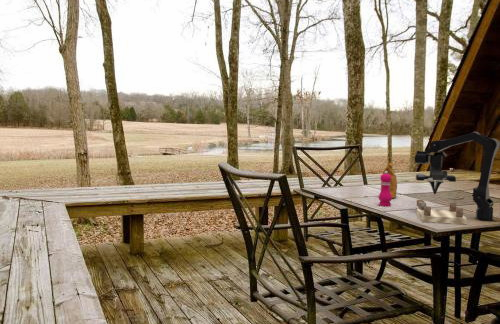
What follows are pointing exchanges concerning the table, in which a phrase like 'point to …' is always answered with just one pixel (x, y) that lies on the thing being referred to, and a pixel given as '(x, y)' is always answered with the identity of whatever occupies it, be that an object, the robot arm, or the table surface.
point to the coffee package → (393, 179)
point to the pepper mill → (385, 190)
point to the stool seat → (442, 215)
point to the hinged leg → (421, 204)
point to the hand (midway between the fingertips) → (434, 194)
